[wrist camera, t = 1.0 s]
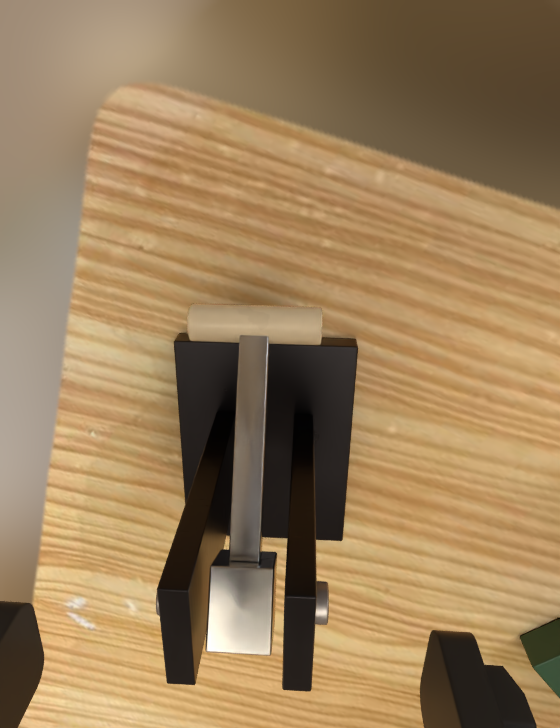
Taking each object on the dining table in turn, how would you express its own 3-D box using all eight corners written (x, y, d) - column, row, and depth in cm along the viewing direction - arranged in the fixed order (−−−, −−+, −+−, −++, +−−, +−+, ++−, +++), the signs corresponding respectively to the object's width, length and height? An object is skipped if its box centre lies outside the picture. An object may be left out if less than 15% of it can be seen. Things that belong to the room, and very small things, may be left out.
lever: (197, 310, 21) (185, 296, 19) (320, 314, 21) (323, 300, 19) (179, 623, 20) (163, 650, 17) (311, 630, 20) (313, 658, 17)
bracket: (179, 332, 27) (76, 486, 15) (356, 338, 26) (394, 500, 14) (191, 520, 31) (121, 749, 20) (341, 527, 31) (361, 764, 19)
